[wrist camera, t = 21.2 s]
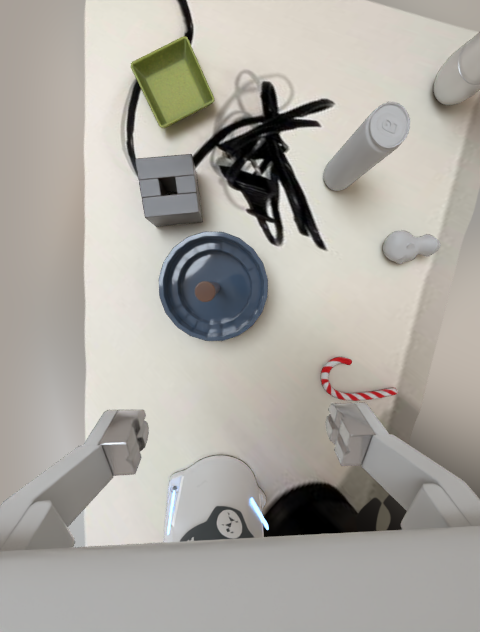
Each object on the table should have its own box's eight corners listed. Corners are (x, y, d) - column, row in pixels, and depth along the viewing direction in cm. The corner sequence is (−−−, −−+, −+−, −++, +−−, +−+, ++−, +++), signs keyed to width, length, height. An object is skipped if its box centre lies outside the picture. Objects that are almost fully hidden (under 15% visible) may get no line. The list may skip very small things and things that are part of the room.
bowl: (244, 342, 39) (247, 353, 33) (158, 316, 38) (146, 322, 32) (273, 258, 38) (282, 253, 32) (184, 226, 36) (176, 215, 30)
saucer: (164, 137, 34) (160, 128, 32) (134, 76, 33) (128, 62, 31) (216, 112, 34) (215, 101, 32) (188, 49, 33) (186, 34, 30)
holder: (202, 222, 36) (199, 212, 31) (155, 226, 36) (144, 217, 31) (196, 172, 35) (191, 153, 30) (147, 176, 35) (135, 158, 30)
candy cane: (393, 409, 42) (317, 396, 40) (388, 406, 43) (314, 392, 42) (406, 370, 41) (328, 355, 39) (400, 367, 42) (325, 352, 41)
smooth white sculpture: (372, 258, 40) (383, 227, 38) (415, 263, 40) (428, 233, 38) (386, 264, 36) (400, 230, 34) (434, 269, 37) (450, 236, 34)
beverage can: (328, 155, 36) (379, 92, 24) (355, 167, 36) (418, 110, 25) (317, 186, 36) (362, 139, 25) (344, 196, 37) (400, 156, 25)
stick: (218, 293, 37) (212, 304, 17) (209, 290, 37) (191, 298, 17) (221, 284, 37) (218, 284, 17) (212, 281, 37) (198, 278, 17)
